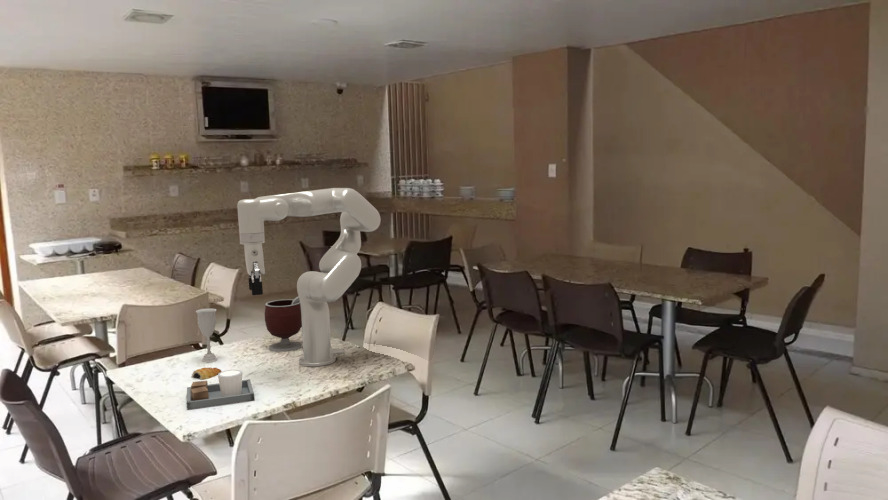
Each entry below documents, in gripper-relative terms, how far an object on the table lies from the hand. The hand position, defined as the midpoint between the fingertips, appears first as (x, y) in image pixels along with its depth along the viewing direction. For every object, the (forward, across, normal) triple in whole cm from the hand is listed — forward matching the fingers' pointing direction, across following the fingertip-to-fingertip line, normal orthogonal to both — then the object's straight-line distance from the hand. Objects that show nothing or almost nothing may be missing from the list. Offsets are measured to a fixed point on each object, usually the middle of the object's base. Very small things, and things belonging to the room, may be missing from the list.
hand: (255, 292), depth 207 cm
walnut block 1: (+27, -14, +19) cm, 36 cm away
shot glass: (+27, -17, +10) cm, 34 cm away
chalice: (+28, +28, +15) cm, 43 cm away
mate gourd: (+29, +34, -13) cm, 46 cm away
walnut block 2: (+27, -20, +19) cm, 38 cm away
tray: (+28, -17, +13) cm, 35 cm away
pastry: (+28, +7, +17) cm, 34 cm away
